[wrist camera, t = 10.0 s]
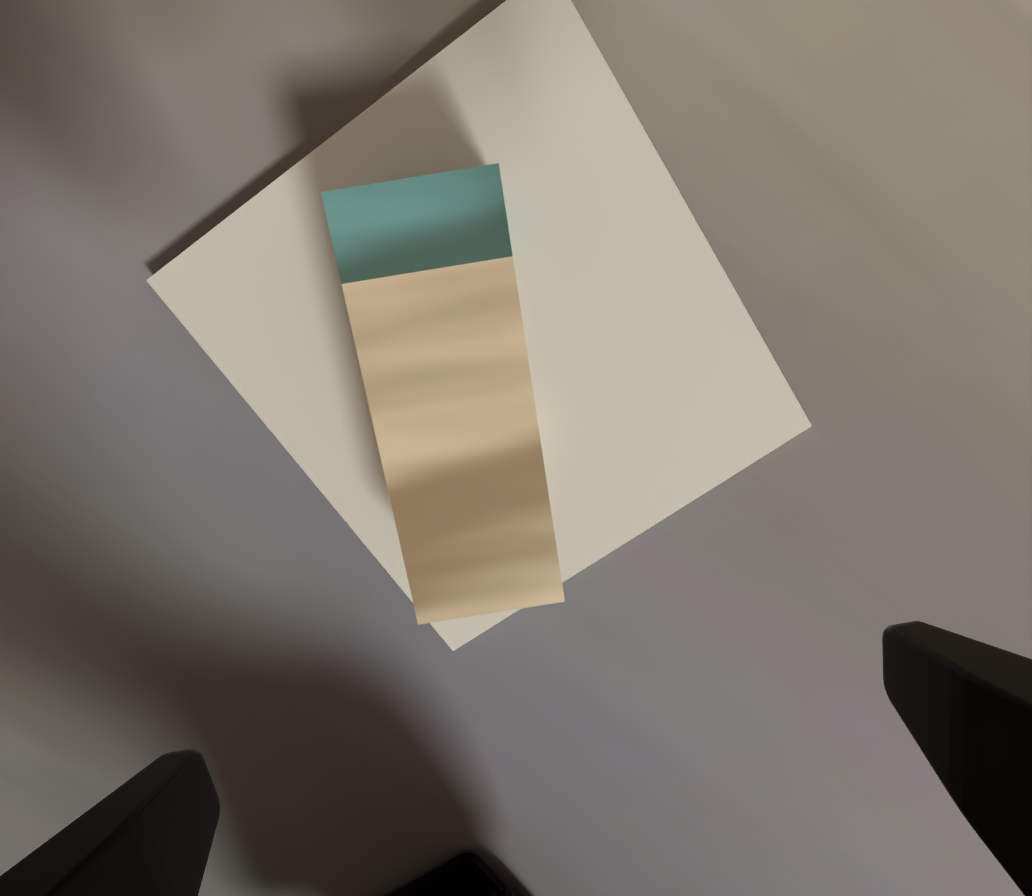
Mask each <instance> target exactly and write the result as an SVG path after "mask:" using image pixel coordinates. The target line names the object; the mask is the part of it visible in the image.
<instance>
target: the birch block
mask: <svg viewBox="0 0 1032 896" xmlns="http://www.w3.org/2000/svg"><path fill="white" fill-rule="evenodd" d="M321 195H322V200H323V204H324V209H325V213H326V217H327V222H328V226H329V231H330V235H331V240H332V244H333V249H334V253H335V257H336V262H337V266H338V271H339V275H340V280H341V284H342V289H343V293H344V297H345V302H346V306H347V311H348V315H349V320H350V324H351V329H352V333H353V337H354V342H355V346H356V351H357V355H358V360H359V364H360V369H361V373H362V377H363V382H364V386H365V391H366V395H367V400H368V404H369V409H370V413H371V417H372V422H373V426H374V431H375V435H376V440H377V444H378V449H379V453H380V457H381V462H382V466H383V471H384V475H385V480H386V484H387V489H388V493H389V497H390V502H391V506H392V511H393V515H394V520H395V524H396V529H397V533H398V537H399V542H400V546H401V551H402V555H403V560H404V564H405V568H406V573H407V577H408V582H409V586H410V591H411V595H412V600H413V604H414V608H415V613H416V617H417V622H418V624H425V623H431V622H438V621H444V620H450V619H457V618H463V617H470V616H476V615H482V614H489V613H495V612H501V611H508V610H514V609H521V608H527V607H533V606H540V605H546V604H553V603H559V602H565V600H564V593H563V586H562V580H561V573H560V566H559V560H558V553H557V547H556V540H555V533H554V527H553V520H552V513H551V507H550V500H549V494H548V487H547V480H546V474H545V467H544V460H543V454H542V447H541V440H540V434H539V427H538V421H537V414H536V407H535V401H534V394H533V387H532V381H531V374H530V368H529V361H528V354H527V348H526V341H525V334H524V328H523V321H522V314H521V308H520V301H519V295H518V288H517V281H516V275H515V268H514V261H513V255H512V248H511V242H510V235H509V228H508V222H507V215H506V208H505V202H504V195H503V188H502V182H501V175H500V169H499V163H496V164H490V165H484V166H477V167H471V168H465V169H459V170H453V171H447V172H441V173H435V174H429V175H423V176H417V177H410V178H404V179H398V180H392V181H386V182H380V183H374V184H368V185H362V186H356V187H350V188H343V189H337V190H331V191H325V192H321Z"/></svg>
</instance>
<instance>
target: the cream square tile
mask: <svg viewBox="0 0 1032 896" xmlns="http://www.w3.org/2000/svg"><path fill="white" fill-rule="evenodd" d="M496 163H499V169H500V175H501V182H502V188H503V195H504V202H505V208H506V215H507V222H508V228H509V235H510V242H511V248H512V255H513V261H514V268H515V275H516V281H517V288H518V295H519V301H520V308H521V314H522V321H523V328H524V334H525V341H526V348H527V354H528V361H529V368H530V374H531V381H532V387H533V394H534V401H535V407H536V414H537V421H538V427H539V434H540V440H541V447H542V454H543V460H544V467H545V474H546V480H547V487H548V494H549V500H550V507H551V513H552V520H553V527H554V533H555V540H556V547H557V553H558V560H559V566H560V573H561V580H562V582H564V581H566V580H567V579H569V578H570V577H572V576H574V575H575V574H577V573H578V572H580V571H581V570H583V569H585V568H586V567H588V566H589V565H591V564H593V563H594V562H596V561H597V560H599V559H601V558H602V557H604V556H605V555H607V554H609V553H610V552H612V551H613V550H615V549H617V548H618V547H620V546H621V545H623V544H625V543H626V542H628V541H629V540H631V539H632V538H634V537H636V536H637V535H639V534H640V533H642V532H644V531H645V530H647V529H648V528H650V527H652V526H653V525H655V524H656V523H658V522H660V521H661V520H663V519H664V518H666V517H668V516H669V515H671V514H672V513H674V512H676V511H677V510H679V509H680V508H682V507H683V506H685V505H687V504H688V503H690V502H691V501H693V500H695V499H696V498H698V497H699V496H701V495H703V494H704V493H706V492H707V491H709V490H711V489H712V488H714V487H715V486H717V485H719V484H720V483H722V482H723V481H725V480H727V479H728V478H730V477H731V476H733V475H734V474H736V473H738V472H739V471H741V470H742V469H744V468H746V467H747V466H749V465H750V464H752V463H754V462H755V461H757V460H758V459H760V458H762V457H763V456H765V455H766V454H768V453H770V452H771V451H773V450H774V449H776V448H778V447H779V446H781V445H782V444H784V443H785V442H787V441H789V440H790V439H792V438H793V437H795V436H797V435H798V434H800V433H801V432H803V431H805V430H806V429H808V428H809V427H811V426H812V425H811V424H810V422H809V420H808V418H807V417H806V415H805V413H804V411H803V410H802V408H801V406H800V404H799V402H798V401H797V399H796V397H795V395H794V394H793V392H792V390H791V388H790V387H789V385H788V383H787V381H786V379H785V378H784V376H783V374H782V372H781V371H780V369H779V367H778V365H777V364H776V362H775V360H774V358H773V356H772V355H771V353H770V351H769V349H768V348H767V346H766V344H765V342H764V341H763V339H762V337H761V335H760V333H759V332H758V330H757V328H756V326H755V325H754V323H753V321H752V319H751V318H750V316H749V314H748V312H747V311H746V309H745V307H744V305H743V303H742V302H741V300H740V298H739V296H738V295H737V293H736V291H735V289H734V288H733V286H732V284H731V282H730V280H729V279H728V277H727V275H726V273H725V272H724V270H723V268H722V266H721V265H720V263H719V261H718V259H717V257H716V256H715V254H714V252H713V250H712V249H711V247H710V245H709V243H708V242H707V240H706V238H705V236H704V235H703V233H702V231H701V229H700V227H699V226H698V224H697V222H696V220H695V219H694V217H693V215H692V213H691V212H690V210H689V208H688V206H687V204H686V203H685V201H684V199H683V197H682V196H681V194H680V192H679V190H678V189H677V187H676V185H675V183H674V181H673V180H672V178H671V176H670V174H669V173H668V171H667V169H666V167H665V166H664V164H663V162H662V160H661V159H660V157H659V155H658V153H657V151H656V150H655V148H654V146H653V144H652V143H651V141H650V139H649V137H648V136H647V134H646V132H645V130H644V128H643V127H642V125H641V123H640V121H639V120H638V118H637V116H636V114H635V113H634V111H633V109H632V107H631V105H630V104H629V102H628V100H627V98H626V97H625V95H624V93H623V91H622V90H621V88H620V86H619V84H618V82H617V81H616V79H615V77H614V75H613V74H612V72H611V70H610V68H609V67H608V65H607V63H606V61H605V60H604V58H603V56H602V54H601V52H600V51H599V49H598V47H597V45H596V44H595V42H594V40H593V38H592V37H591V35H590V33H589V31H588V29H587V28H586V26H585V24H584V22H583V21H582V19H581V17H580V15H579V14H578V12H577V10H576V8H575V6H574V5H573V3H572V1H571V0H506V1H505V2H503V3H502V4H501V5H500V6H498V7H497V8H496V9H494V10H493V11H492V12H491V13H489V14H488V15H487V16H485V17H484V18H483V19H482V20H480V21H479V22H478V23H476V24H475V25H474V26H473V27H471V28H470V29H469V30H467V31H466V32H465V33H464V34H462V35H461V36H460V37H458V38H457V39H456V40H455V41H453V42H452V43H451V44H449V45H448V46H447V47H446V48H444V49H443V50H442V51H440V52H439V53H438V54H437V55H435V56H434V57H433V58H431V59H430V60H429V61H428V62H426V63H425V64H424V65H422V66H421V67H420V68H419V69H417V70H416V71H415V72H413V73H412V74H411V75H410V76H408V77H407V78H406V79H404V80H403V81H402V82H401V83H399V84H398V85H397V86H395V87H394V88H393V89H392V90H390V91H389V92H388V93H386V94H385V95H384V96H383V97H381V98H380V99H379V100H377V101H376V102H375V103H374V104H372V105H371V106H370V107H368V108H367V109H366V110H365V111H363V112H362V113H361V114H359V115H358V116H357V117H356V118H354V119H353V120H352V121H350V122H349V123H348V124H347V125H345V126H344V127H343V128H341V129H340V130H339V131H338V132H336V133H335V134H334V135H332V136H331V137H330V138H329V139H327V140H326V141H325V142H323V143H322V144H321V145H320V146H318V147H317V148H316V149H314V150H313V151H312V152H311V153H309V154H308V155H307V156H305V157H304V158H303V159H302V160H300V161H299V162H298V163H296V164H295V165H294V166H293V167H291V168H290V169H289V170H287V171H286V172H285V173H284V174H282V175H281V176H280V177H278V178H277V179H276V180H275V181H273V182H272V183H271V184H269V185H268V186H267V187H266V188H264V189H263V190H262V191H260V192H259V193H258V194H257V195H255V196H254V197H253V198H251V199H250V200H249V201H248V202H246V203H245V204H244V205H242V206H241V207H240V208H239V209H237V210H236V211H235V212H233V213H232V214H231V215H230V216H228V217H227V218H226V219H224V220H223V221H222V222H221V223H219V224H218V225H217V226H215V227H214V228H213V229H212V230H210V231H209V232H208V233H206V234H205V235H204V236H203V237H201V238H200V239H199V240H197V241H196V242H195V243H194V244H192V245H191V246H190V247H188V248H187V249H186V250H185V251H183V252H182V253H181V254H179V255H178V256H177V257H176V258H174V259H173V260H172V261H170V262H169V263H168V264H167V265H165V266H164V267H163V268H161V269H160V270H159V271H158V272H156V273H155V274H154V275H152V276H151V277H150V278H149V279H147V280H146V281H147V282H148V283H149V284H150V285H151V287H152V288H153V289H154V290H155V292H156V293H157V294H158V295H159V296H160V298H161V299H162V300H163V301H164V302H165V304H166V305H167V306H168V307H169V308H170V310H171V311H172V312H173V313H174V314H175V316H176V317H177V318H178V319H179V321H180V322H181V323H182V324H183V325H184V327H185V328H186V329H187V330H188V331H189V333H190V334H191V335H192V336H193V337H194V339H195V340H196V341H197V342H198V343H199V345H200V346H201V347H202V348H203V350H204V351H205V352H206V353H207V354H208V356H209V357H210V358H211V359H212V360H213V362H214V363H215V364H216V365H217V366H218V368H219V369H220V370H221V371H222V372H223V374H224V375H225V376H226V377H227V379H228V380H229V381H230V382H231V383H232V385H233V386H234V387H235V388H236V389H237V391H238V392H239V393H240V394H241V395H242V397H243V398H244V399H245V400H246V402H247V403H248V404H249V405H250V406H251V408H252V409H253V410H254V411H255V412H256V414H257V415H258V416H259V417H260V418H261V420H262V421H263V422H264V423H265V424H266V426H267V427H268V428H269V429H270V431H271V432H272V433H273V434H274V435H275V437H276V438H277V439H278V440H279V441H280V443H281V444H282V445H283V446H284V447H285V449H286V450H287V451H288V452H289V453H290V455H291V456H292V457H293V458H294V460H295V461H296V462H297V463H298V464H299V466H300V467H301V468H302V469H303V470H304V472H305V473H306V474H307V475H308V476H309V478H310V479H311V480H312V481H313V483H314V484H315V485H316V486H317V487H318V489H319V490H320V491H321V492H322V493H323V495H324V496H325V497H326V498H327V499H328V501H329V502H330V503H331V504H332V505H333V507H334V508H335V509H336V510H337V512H338V513H339V514H340V515H341V516H342V518H343V519H344V520H345V521H346V522H347V524H348V525H349V526H350V527H351V528H352V530H353V531H354V532H355V533H356V534H357V536H358V537H359V538H360V539H361V541H362V542H363V543H364V544H365V545H366V547H367V548H368V549H369V550H370V551H371V553H372V554H373V555H374V556H375V557H376V559H377V560H378V561H379V562H380V563H381V565H382V566H383V567H384V568H385V570H386V571H387V572H388V573H389V574H390V576H391V577H392V578H393V579H394V580H395V582H396V583H397V584H398V585H399V586H400V588H401V589H402V590H403V591H404V593H405V594H406V595H407V596H408V597H409V599H410V600H411V601H412V602H413V600H412V595H411V591H410V586H409V582H408V577H407V573H406V568H405V564H404V560H403V555H402V551H401V546H400V542H399V537H398V533H397V529H396V524H395V520H394V515H393V511H392V506H391V502H390V497H389V493H388V489H387V484H386V480H385V475H384V471H383V466H382V462H381V457H380V453H379V449H378V444H377V440H376V435H375V431H374V426H373V422H372V417H371V413H370V409H369V404H368V400H367V395H366V391H365V386H364V382H363V377H362V373H361V369H360V364H359V360H358V355H357V351H356V346H355V342H354V337H353V333H352V329H351V324H350V320H349V315H348V311H347V306H346V302H345V297H344V293H343V289H342V284H341V280H340V275H339V271H338V266H337V262H336V257H335V253H334V249H333V244H332V240H331V235H330V231H329V226H328V222H327V217H326V213H325V209H324V204H323V200H322V195H321V192H325V191H331V190H337V189H343V188H350V187H356V186H362V185H368V184H374V183H380V182H386V181H392V180H398V179H404V178H410V177H417V176H423V175H429V174H435V173H441V172H447V171H453V170H459V169H465V168H471V167H477V166H484V165H490V164H496ZM518 610H519V609H514V610H508V611H501V612H495V613H489V614H482V615H476V616H470V617H463V618H457V619H450V620H444V621H438V622H431V623H430V624H431V625H432V626H433V628H434V629H435V630H436V631H437V632H438V634H439V635H440V636H441V637H442V638H443V640H444V641H445V642H446V643H447V644H448V646H449V647H450V648H451V649H452V651H454V650H456V649H457V648H459V647H460V646H462V645H464V644H465V643H467V642H468V641H470V640H472V639H473V638H475V637H476V636H478V635H479V634H481V633H483V632H484V631H486V630H487V629H489V628H491V627H492V626H494V625H495V624H497V623H499V622H500V621H502V620H503V619H505V618H507V617H508V616H510V615H511V614H513V613H515V612H516V611H518Z"/></svg>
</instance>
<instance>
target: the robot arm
mask: <svg viewBox="0 0 1032 896" xmlns="http://www.w3.org/2000/svg"><path fill="white" fill-rule="evenodd" d="M882 642H883V680H884V686H885V690H886V693H887V695H888V697H889V699H890V701H891V703H892V704H893V706H894V708H895V709H896V711H897V712H898V714H899V716H900V717H901V719H902V720H903V722H904V723H905V725H906V727H907V728H908V730H909V731H910V733H911V734H912V736H913V738H914V739H915V741H916V742H917V744H918V746H919V747H920V749H921V750H922V752H923V753H924V755H925V757H926V758H927V760H928V761H929V763H930V765H931V766H932V768H933V769H934V771H935V772H936V774H937V776H938V777H939V779H940V780H941V782H942V784H943V785H944V787H945V788H946V790H947V791H948V793H949V795H950V796H951V798H952V799H953V801H954V802H955V804H956V805H957V807H958V808H959V809H960V811H961V812H962V814H963V815H964V817H965V818H966V819H967V821H968V822H969V823H970V825H971V826H972V827H973V829H974V830H975V831H976V833H977V834H978V835H979V837H980V838H981V839H982V841H983V842H984V843H985V845H986V846H987V847H988V848H989V850H990V851H991V852H992V854H993V855H994V856H995V858H996V859H997V860H998V861H999V863H1000V864H1001V865H1002V867H1003V868H1004V869H1005V870H1006V872H1007V873H1008V874H1009V876H1010V877H1011V878H1012V880H1013V881H1014V882H1015V883H1016V885H1017V886H1018V887H1019V889H1020V890H1021V891H1022V893H1023V894H1024V895H1025V896H1032V659H1029V658H1026V657H1023V656H1020V655H1017V654H1014V653H1011V652H1009V651H1006V650H1003V649H1000V648H997V647H994V646H991V645H988V644H985V643H982V642H979V641H976V640H973V639H970V638H967V637H965V636H962V635H959V634H956V633H953V632H950V631H947V630H944V629H941V628H938V627H935V626H932V625H929V624H926V623H923V622H920V621H913V622H907V623H901V624H896V625H890V626H888V627H887V628H886V629H885V630H884V632H883V638H882ZM219 812H220V803H219V798H218V794H217V792H216V789H215V786H214V784H213V781H212V779H211V776H210V773H209V771H208V768H207V766H206V763H205V760H204V758H203V756H202V754H201V753H200V752H199V751H197V750H195V749H188V750H182V751H177V752H171V753H167V754H164V755H162V756H160V757H159V758H158V759H156V760H155V761H154V762H152V763H151V764H150V765H148V766H147V767H146V768H144V769H143V770H142V771H140V772H139V773H138V774H136V775H135V776H134V777H132V778H131V779H130V780H128V781H127V782H126V783H124V784H123V785H122V786H120V787H119V788H118V789H116V790H115V791H114V792H112V793H111V794H109V795H108V796H107V797H105V798H104V799H103V800H101V801H100V802H99V803H97V804H96V805H95V806H93V807H92V808H91V809H89V810H88V811H87V812H85V813H84V814H83V815H81V816H80V817H79V818H77V819H76V820H75V821H73V822H72V823H71V824H69V825H68V826H67V827H65V828H64V829H63V830H61V831H60V832H59V833H57V834H56V835H55V836H53V837H52V838H51V839H49V840H48V841H47V842H45V843H44V844H43V845H41V846H40V847H39V848H37V849H36V850H35V851H33V852H32V853H31V854H29V855H28V856H27V857H25V858H24V859H23V860H21V861H20V862H19V863H17V864H16V865H15V866H13V867H12V868H11V869H9V870H8V871H7V872H5V873H4V874H3V875H1V876H0V896H198V893H199V889H200V886H201V882H202V878H203V874H204V871H205V867H206V863H207V860H208V856H209V852H210V849H211V845H212V841H213V838H214V834H215V830H216V827H217V823H218V819H219ZM468 867H470V868H468ZM390 896H517V895H516V894H515V893H514V892H513V891H512V890H510V889H508V888H507V887H506V886H505V884H504V883H503V882H502V881H501V880H500V879H499V878H498V877H497V876H496V875H495V874H494V872H493V871H492V870H491V869H490V868H489V867H488V866H487V865H486V864H485V863H484V862H483V860H482V859H481V858H480V857H479V856H478V855H476V854H474V853H464V854H461V855H459V856H458V857H456V858H454V859H452V860H451V861H449V862H447V863H445V864H444V865H442V866H440V867H438V868H437V869H435V870H433V871H432V872H430V873H428V874H426V875H425V876H423V877H421V878H419V879H418V880H416V881H414V882H412V883H411V884H409V885H407V886H406V887H404V888H402V889H400V890H399V891H397V892H395V893H393V894H392V895H390Z"/></svg>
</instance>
